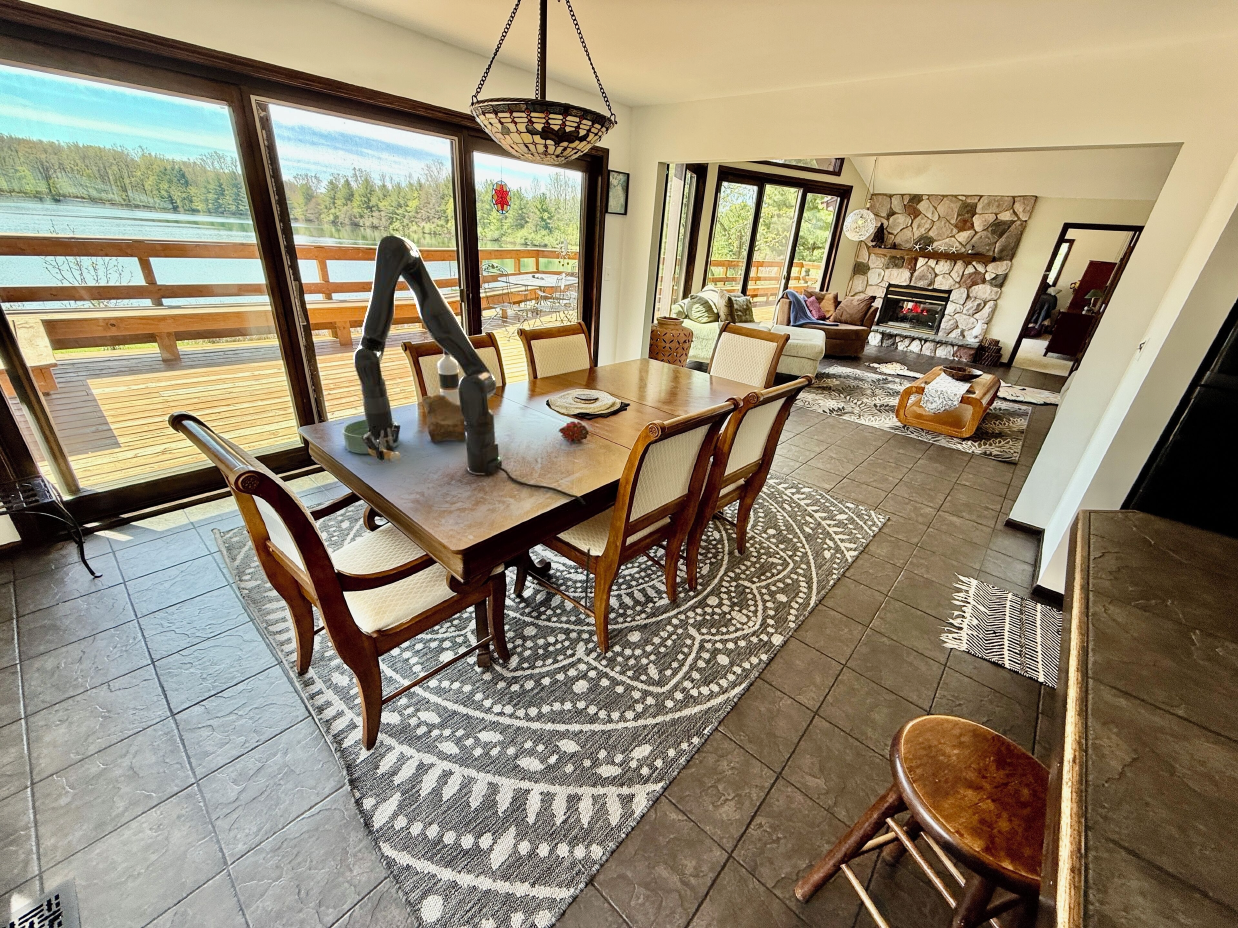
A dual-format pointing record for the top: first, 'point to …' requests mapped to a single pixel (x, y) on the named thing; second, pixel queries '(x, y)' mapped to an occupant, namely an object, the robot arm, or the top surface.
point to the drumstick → (387, 454)
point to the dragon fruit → (574, 431)
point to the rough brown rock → (443, 419)
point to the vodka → (449, 377)
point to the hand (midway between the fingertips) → (386, 457)
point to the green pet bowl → (359, 437)
